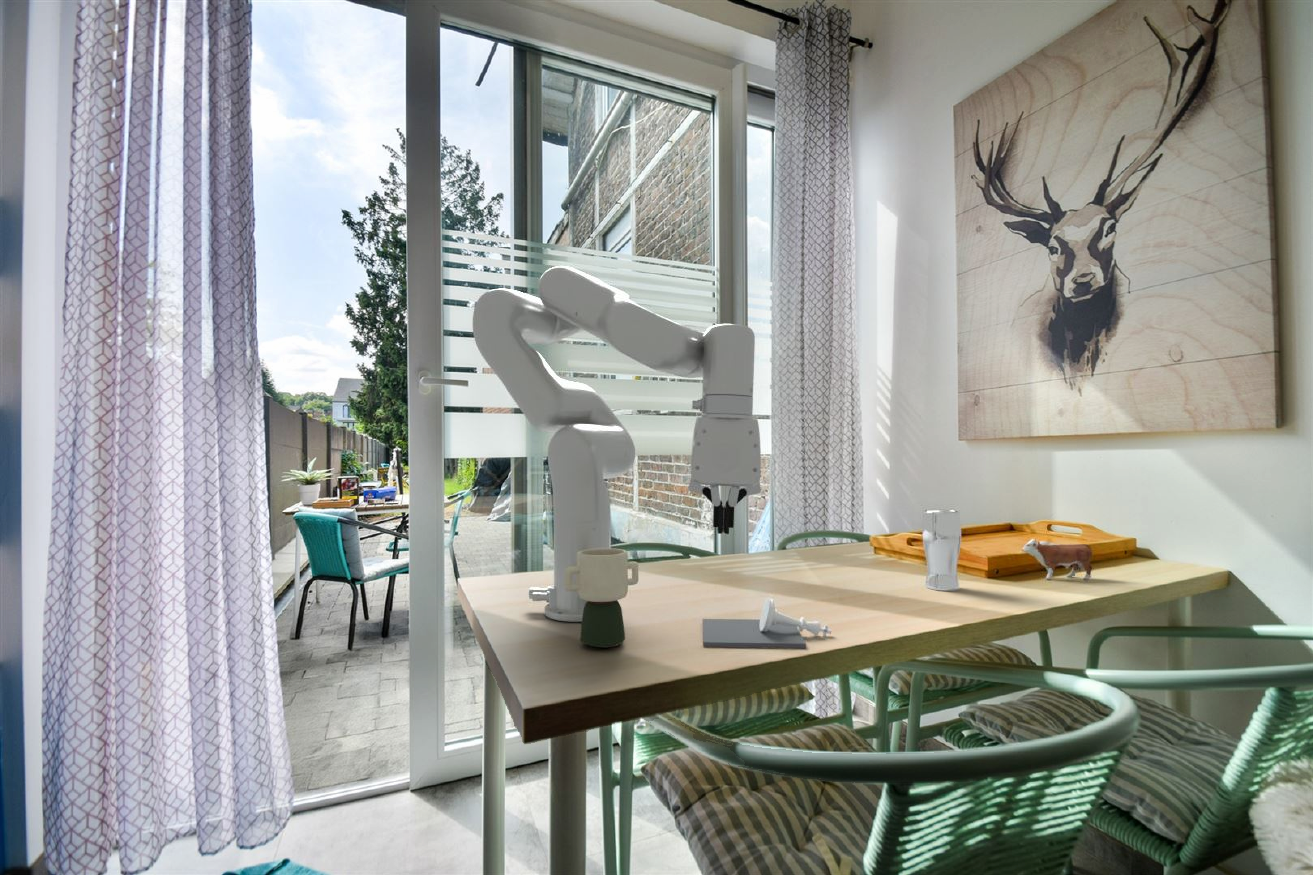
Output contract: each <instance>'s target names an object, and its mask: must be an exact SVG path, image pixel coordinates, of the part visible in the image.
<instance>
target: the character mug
mask: <svg viewBox="0 0 1313 875" xmlns="http://www.w3.org/2000/svg"><path fill="white" fill-rule="evenodd" d="M628 555H629V554H628V550H625V549H622V548H621V549H620V548H613V547H611V548H594V549H586V550H581V551H579V552H577V566H575V567H568V568H566V569H565V590H566V591H577V592H578V594H579V597H580V598H581V599H584V600H586V601H588V602H587V603H586V604H585V606H584V610H583V617H582V622H581V625H580V636H579V637H580V638H579V641H580V642H581V643H583V644H584V645H587V646H591V647H596V648H610V647H616V646H618V645H621V644H622V643H624V641H625V640H626V633H625V632H626V631H625V625H624V619H623V618H624V617H623V609H622V606H621V604H620V603H619V600H622V599H624V598H626V597H627V595H628V591H629V586H635V585H637V584H638V582H639V564H638V562H637V561H628V558H629V557H628ZM629 569H630V570H631V577H630V578H628V577H629V572H628V571H629ZM576 573H577V584H572V583H571V574H576Z"/></svg>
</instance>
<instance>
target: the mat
mask: <svg viewBox="0 0 1313 875" xmlns="http://www.w3.org/2000/svg"><path fill="white" fill-rule="evenodd" d="M759 624H760V619H755V618H754V619H751V618H750V619H741V618H740V619H738V618H702V646H703V647H708V648H709V647H710V648H711V647H713V648H714V647H715V648H716V647H717V648H764V647H778V649H779V648H780V649H782V648H783V649H807V643H806V642H805V640H804V638H803V635H802V634H801V633H800V632H801V631H800V632H799V629H798V627H797V626H791V625H784V624H775V625H773V624H771V626H770V628H769V630H768V631H767V632H764V631H762V632H761V631H760V627H759ZM781 647H782V648H781Z"/></svg>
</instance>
